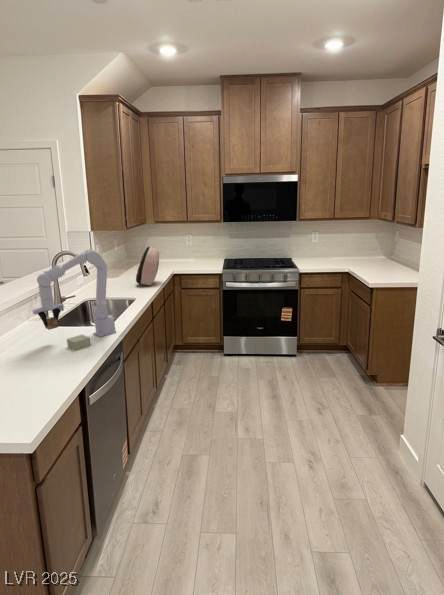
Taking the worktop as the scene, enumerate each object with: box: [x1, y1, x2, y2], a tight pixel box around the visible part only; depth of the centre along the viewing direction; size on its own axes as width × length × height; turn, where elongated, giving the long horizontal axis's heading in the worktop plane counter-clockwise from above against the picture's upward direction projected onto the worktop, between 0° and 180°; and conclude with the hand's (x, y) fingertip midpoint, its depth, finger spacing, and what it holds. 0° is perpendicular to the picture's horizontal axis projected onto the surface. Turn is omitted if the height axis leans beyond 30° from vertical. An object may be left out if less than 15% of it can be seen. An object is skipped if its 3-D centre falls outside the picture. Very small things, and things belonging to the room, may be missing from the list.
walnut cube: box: [44, 316, 59, 330], centre depth 203 cm, size 4×4×4 cm
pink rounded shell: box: [135, 246, 160, 286], centre depth 324 cm, size 22×20×30 cm
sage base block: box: [66, 334, 92, 351], centre depth 199 cm, size 8×8×4 cm
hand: (51, 324), depth 204 cm, fingers closed on walnut cube, 4 cm apart
